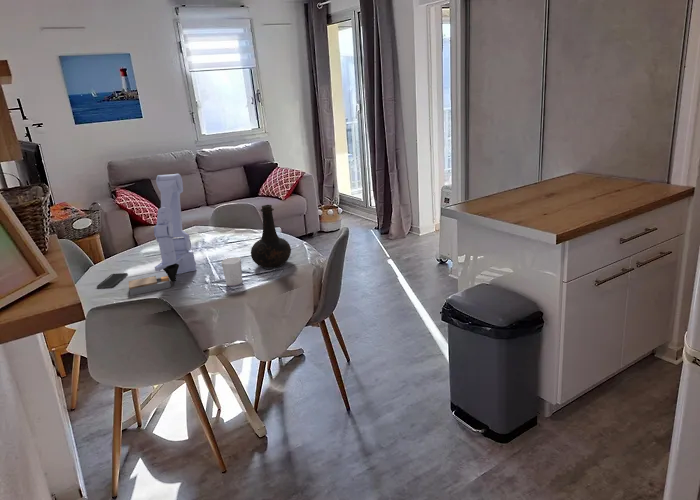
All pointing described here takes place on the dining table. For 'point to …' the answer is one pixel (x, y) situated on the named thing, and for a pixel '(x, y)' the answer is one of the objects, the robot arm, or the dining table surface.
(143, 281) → the lid
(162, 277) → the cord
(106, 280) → the phone
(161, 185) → the robot arm
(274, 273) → the dining table surface
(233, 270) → the white cup
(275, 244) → the glass bottle
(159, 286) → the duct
